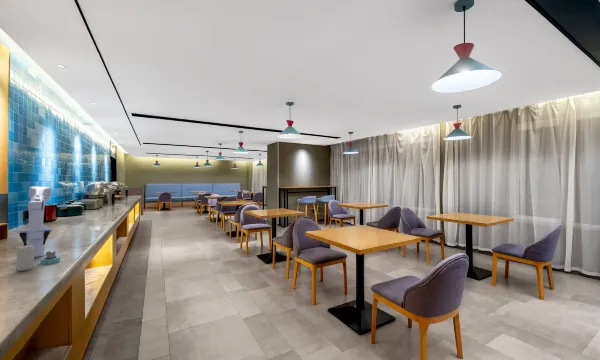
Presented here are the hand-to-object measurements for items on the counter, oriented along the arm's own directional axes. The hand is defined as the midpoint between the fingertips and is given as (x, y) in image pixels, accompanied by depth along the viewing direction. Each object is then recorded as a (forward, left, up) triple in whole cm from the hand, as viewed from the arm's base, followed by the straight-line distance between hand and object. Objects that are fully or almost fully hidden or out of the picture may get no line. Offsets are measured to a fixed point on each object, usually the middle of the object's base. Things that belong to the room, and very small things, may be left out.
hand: (34, 245), depth 151 cm
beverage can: (+15, -1, -10) cm, 18 cm away
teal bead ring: (+6, +8, -9) cm, 13 cm away
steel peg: (+6, +8, -9) cm, 13 cm away
